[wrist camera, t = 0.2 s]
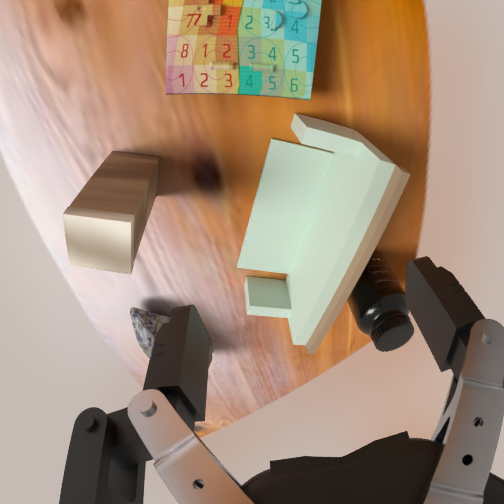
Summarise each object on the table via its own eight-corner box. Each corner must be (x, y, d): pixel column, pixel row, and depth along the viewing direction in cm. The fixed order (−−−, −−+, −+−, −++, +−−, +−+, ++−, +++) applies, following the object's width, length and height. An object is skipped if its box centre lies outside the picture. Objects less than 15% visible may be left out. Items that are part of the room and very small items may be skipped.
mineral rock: (129, 295, 41) (114, 357, 33) (208, 294, 42) (206, 359, 34) (148, 351, 49) (142, 405, 41) (214, 350, 50) (215, 406, 42)
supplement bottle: (371, 288, 44) (401, 357, 34) (329, 284, 42) (355, 358, 33) (393, 251, 40) (433, 319, 30) (349, 244, 38) (385, 318, 29)
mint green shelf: (279, 109, 28) (303, 143, 20) (362, 132, 30) (410, 174, 22) (232, 283, 41) (236, 349, 33) (298, 290, 42) (314, 353, 34)
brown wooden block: (111, 150, 29) (62, 214, 19) (160, 156, 30) (130, 222, 20) (110, 191, 31) (69, 264, 22) (156, 196, 32) (131, 274, 23)
